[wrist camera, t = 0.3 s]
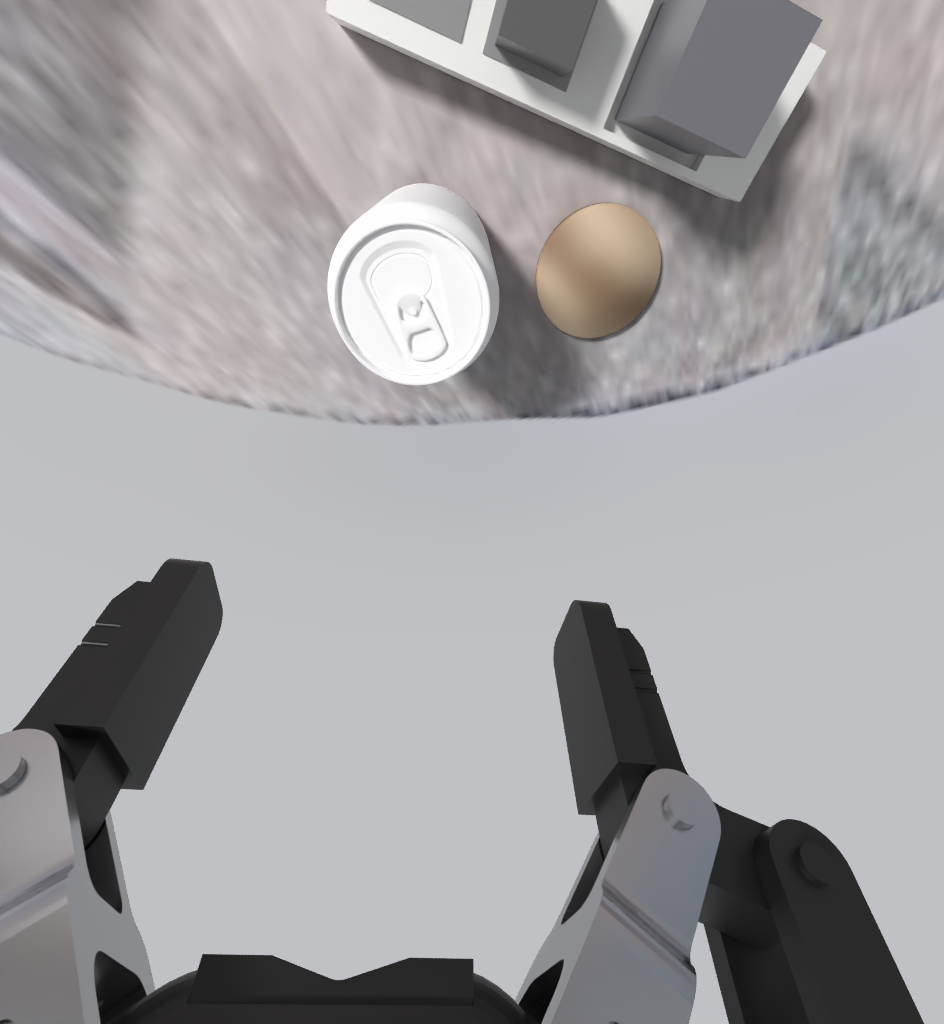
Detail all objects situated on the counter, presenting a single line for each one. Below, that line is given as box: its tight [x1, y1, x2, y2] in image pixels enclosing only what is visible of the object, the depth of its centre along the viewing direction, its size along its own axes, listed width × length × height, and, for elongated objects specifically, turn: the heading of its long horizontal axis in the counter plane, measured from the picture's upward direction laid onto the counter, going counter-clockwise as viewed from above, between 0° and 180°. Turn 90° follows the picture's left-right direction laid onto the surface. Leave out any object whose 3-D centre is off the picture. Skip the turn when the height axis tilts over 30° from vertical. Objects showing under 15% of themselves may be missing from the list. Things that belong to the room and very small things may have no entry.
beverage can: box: [328, 183, 499, 385], centre depth 27 cm, size 8×8×12 cm
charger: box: [614, 0, 822, 159], centre depth 22 cm, size 4×5×7 cm
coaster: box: [536, 203, 661, 338], centre depth 32 cm, size 8×8×1 cm
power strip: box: [326, 0, 827, 202], centre depth 22 cm, size 6×26×6 cm, turn 71°
